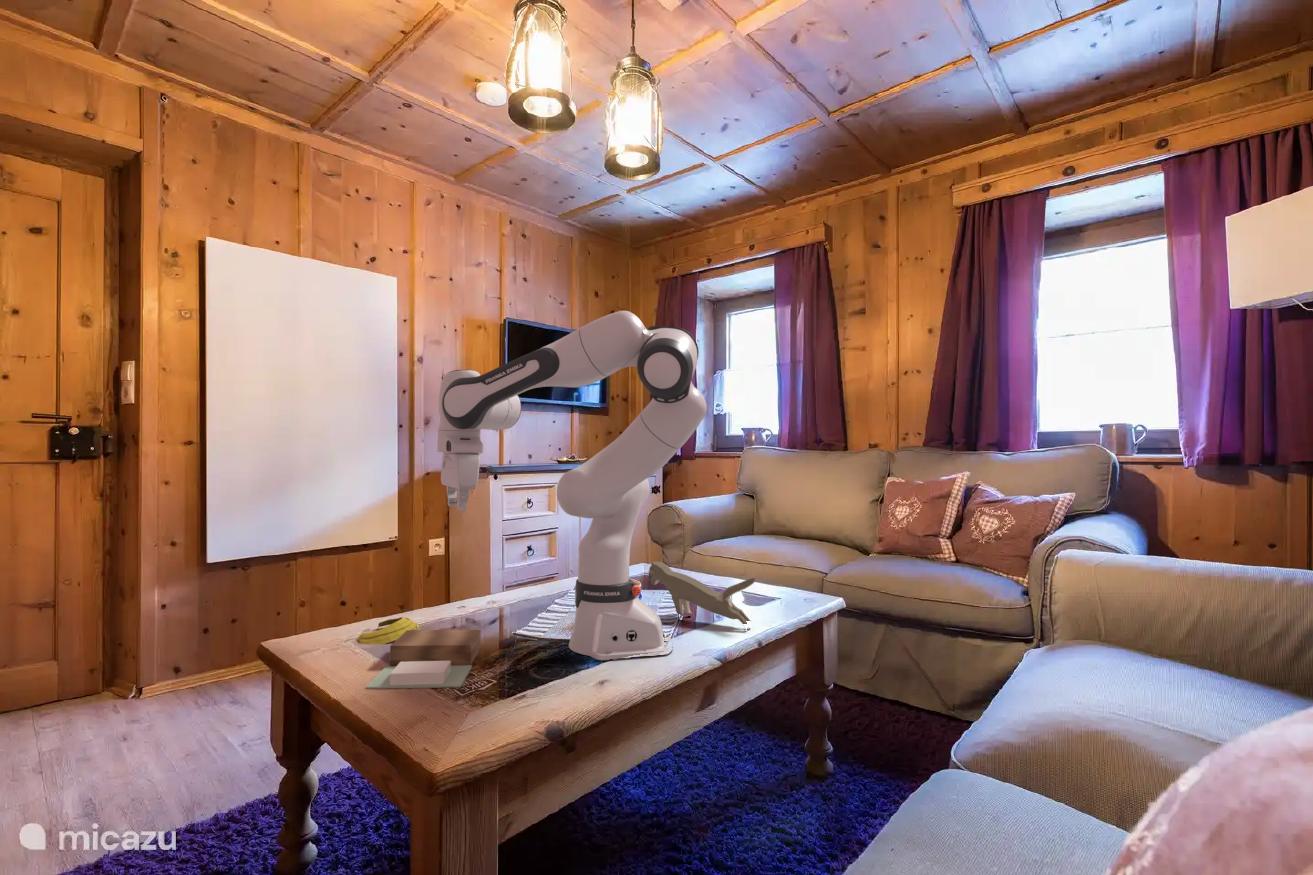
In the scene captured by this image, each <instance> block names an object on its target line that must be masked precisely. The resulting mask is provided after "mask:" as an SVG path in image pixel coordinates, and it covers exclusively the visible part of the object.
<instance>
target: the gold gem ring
mask: <svg viewBox="0 0 1313 875" xmlns="http://www.w3.org/2000/svg"><path fill="white" fill-rule="evenodd" d="M419 626H420V625H419V624H418V623H416V622H415V621H413V619H411V618H408V617H402V616H401V617H400V616H399V617H398V618H390V619H389V618H388V619H386V620H383V621H380V622H378V626H377V629H376V631H372V632H370V631H369V632H363V633H361V634H360V635H359V636H358V637H357V639H356V640H357V642H358V641H359V642H358V644H360V645H369V646H371V645H372V646H373V645H385V644H389V643H392V642H395V641H396V640H397V639H398V638H399V637H400V636H401V635H402V634H404V633H405V632H406V631H407V630H421V629H420V628H419ZM382 627H383V628H382ZM379 628H381V629H379Z"/></svg>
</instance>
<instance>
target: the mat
mask: <svg viewBox="0 0 1313 875" xmlns="http://www.w3.org/2000/svg"><path fill="white" fill-rule="evenodd" d="M395 668H396V666H390V665H388V666H385V667H384V668H383V669H382V670H381V671H380V672H379V673H378V674H377V675H376V676H375V677H374V678H373V679H372V680H371V681H370V682H369V683H368V684H367V685H366V686H365V689H367V690H371V689H372V690H374V689H380V690H381V689H425V688H426V689H427V688H429V689H430V688H431V689H433V688H438V689H439V688H441V689H442V688H461V687H462V686H463V683H464V682H465V680H466V678H467V677H468V675H469V673H470V672H471V669H473V665H472V664H471V665H451V671H450V673H449V675H448V676H447V678H446V680H445V682H444V683H443V684H418V685H390V673H391V672H392V671H393V670H394V669H395Z"/></svg>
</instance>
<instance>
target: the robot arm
mask: <svg viewBox="0 0 1313 875" xmlns="http://www.w3.org/2000/svg"><path fill="white" fill-rule="evenodd" d="M698 359H699V347H698V343H697V341H696V339H695V338H694V336H693V335H692V334H691V333H690V332H689V331H688V330H686V329H684V328H682V327H679V326H668V325H666V326H665V325H664V326H662V325H661V326H660V325H651V326H649V327H648V328H646V326H645V325H644V323H643V321H641V319H640V318H639V317H638V316H637V315H636V314H634V313H632V312H631V311H629V310H619V311H616V312H612V313H610V314H607V315H604V316H601V317H599V318H596V319H595V320H593V321H591V322H588V323H586V324H585V325H583V326H581V327H579V328H577V329H576V330H573V331H572V332H570V333H568V334H566V335H565V336H563V337H561V338H559V339H557V340H555V341H554V342H551V343H549V344H547V345H544V346H542V347H541V348H538V349H536V350H534V351H533V350H532V351H530V352H529V353H525V354H524V355H522V356H520V357H517V358H516V359H513V360H511V361H508V362H507V363H504V364H502V365H501V366H498V367H495V368H494V369H492V370H490V371H488V372H485V373H483V374H481V373H480V372H478V371H476V370H473V369H455V370H451V371H449V372H447V373H446V374H445V373H444V376H443V377H442V380H441V382H440V389H439V394H438V413H439V414H438V415H439V418H440V420H439V425H438V428H437V445H436V446H437V449H436V451H437V452H438V453H443V454H442V459H441V470H440V482H441V483H440V484H441V485H443V486H446V490H445V491H446V496H447V506H448V507H452V508H453V507H455V508H456V510H458V511H464V512H465V511H467V509H468V501H469V497H470V490H476V489H477V486H478V482H479V475H480V474H479V473H480V465H481V456H480V454H483V453H484V444H483V442H482V441H481V430H491V431H492V430H494V431H503V430H508V429H511V428H512V427H514V426H515V424H517V422H518V421H519V419H520V417H521V414H522V402H521V399H520V396H519V395H520V394H522V393H525V392H527V391H529V390H533V389H536V388H537V389H538V388H543V387H544V388H545V387H558V388H560V387H561V388H581V387H585V386H589V385H592V384H595V383H598V382H599V381H602V380H604V379H606V378H607V377H610V376H611V375H613V374H615V373H616V372H618V371H620V370H622V369H625V368H628V367H636V370H637V375H638V378H639V379H640V381H641V383H642V385H643V386H644V387H645V388H646V390H647V391H648V392H649V394H650V396H651V397H652V399H651V401H649V403H648V404H647V405H646V406H645V407H644V408H643V409H642V410H641V411H640V412H639V414H638V415H637V416H636V417H635V419H633V420H632V422H630V424H629V425H628V426H627V427H626V428H625V430H623V431H622V433H621V434H620V435H618V437H617V438H615V440H613V441H612V442H611V443H609V444H608V445H607V446H605V447H604V448H602V450H600V451H599V452H597V453H596V454H594V456H592V457H590V458H589V459H588V460H586V461H585V462H583V463H582V464H580V465H579V466H577V467H574V468H572V469H570V470H568V471H566V472H565V473H563V474H562V475H561V477H560V479H559V481H558V482H557V488H556V499H557V502H558V505H559V506H560V508H561V509H562V511H563V512H565V513H566V514H567V515H569V516H571V517H577V518H583V519H592V520H591V523H590V526H589V528H588V530H587V533H586V534H585V535H584V536H583V537H582V539H581V540H580V542H579V545H578V560H577V562H578V565H577V566H578V567H577V569H578V570H577V579H576V581H575V585H574V605H575V614H574V621H573V626H572V627H573V628H572V632H571V636H570V638H569V641H568V642H569V643H568V648H569V650H571V651H572V652H574V653H577V654H580V655H584V656H589V657H591V658H593V659H594V660H597V661H609V660H610V659H613V660H618V659H617V658H622V657H628V656H633V655H640V654H648V653H653V652H664V651H668V650H669V648H666V647H664V645H666V643H665V642H664V641H672V642H673V640H672V638H671V637H670V636H669V637H667V638H666V639H665V640H664V637H663V633H664V629H663V624H662V620H661V617H660V616H659V614H658V613H657V612H656V610H654V609H653V608H651V607H650V606H649V605H648V604H646V603H645V602H644V601H643V600H641V599H640V598H639V597H638V596H640V595H641V594H642V589H641V586H640V585H638V583H637V582H636V581H635V580H632V579H630V551H631V543H632V540H633V539H632V538H633V534H634V531H635V530H634V529H635V527H636V523H637V520H638V517H639V515H640V512H641V511H642V508H643V507H644V505H645V504H646V503H647V501H648V499H649V498H650V491H651V490H650V489H651V488H650V482H649V478H650V477H653V476H655V475H656V474H657V473H658V472H660V470H661V469H662V468H663V467H664V466H665V465H666V464H667V463H668V462H669V461H670V460H671V459H672V458H673V456H675V455H676V453H677V452H679V450H680V449H681V448H682V447H683V446H684V445H685V443H687V442H688V440H689V439H690V438H691V437H692V436H693V434H694V433H695V431H696V430H697V429H698V427H699V426H700V424H701V422H702V420H703V419H704V418H705V416H706V413H707V408H708V406H707V401H706V400H705V397H704V395H703V394H702V393H701V391H700V390H699V389H698V388H697V387H695V385H694V383H693V382H692V380H693V377H694V375H695V371H696V370H697V369H696V368H697V366H698V365H697V364H698ZM610 661H611V660H610Z"/></svg>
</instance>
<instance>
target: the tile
mask: <svg viewBox="0 0 1313 875" xmlns="http://www.w3.org/2000/svg"><path fill="white" fill-rule="evenodd" d="M450 671H451V661H411V662H400V663H399V664H398V665H397V666H396V668H395V669H394V670H393V671H392V672H391V673H390V685H418V684H443V683H444V682H445V680H446V678H447V676H448V675H449V673H450Z"/></svg>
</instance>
